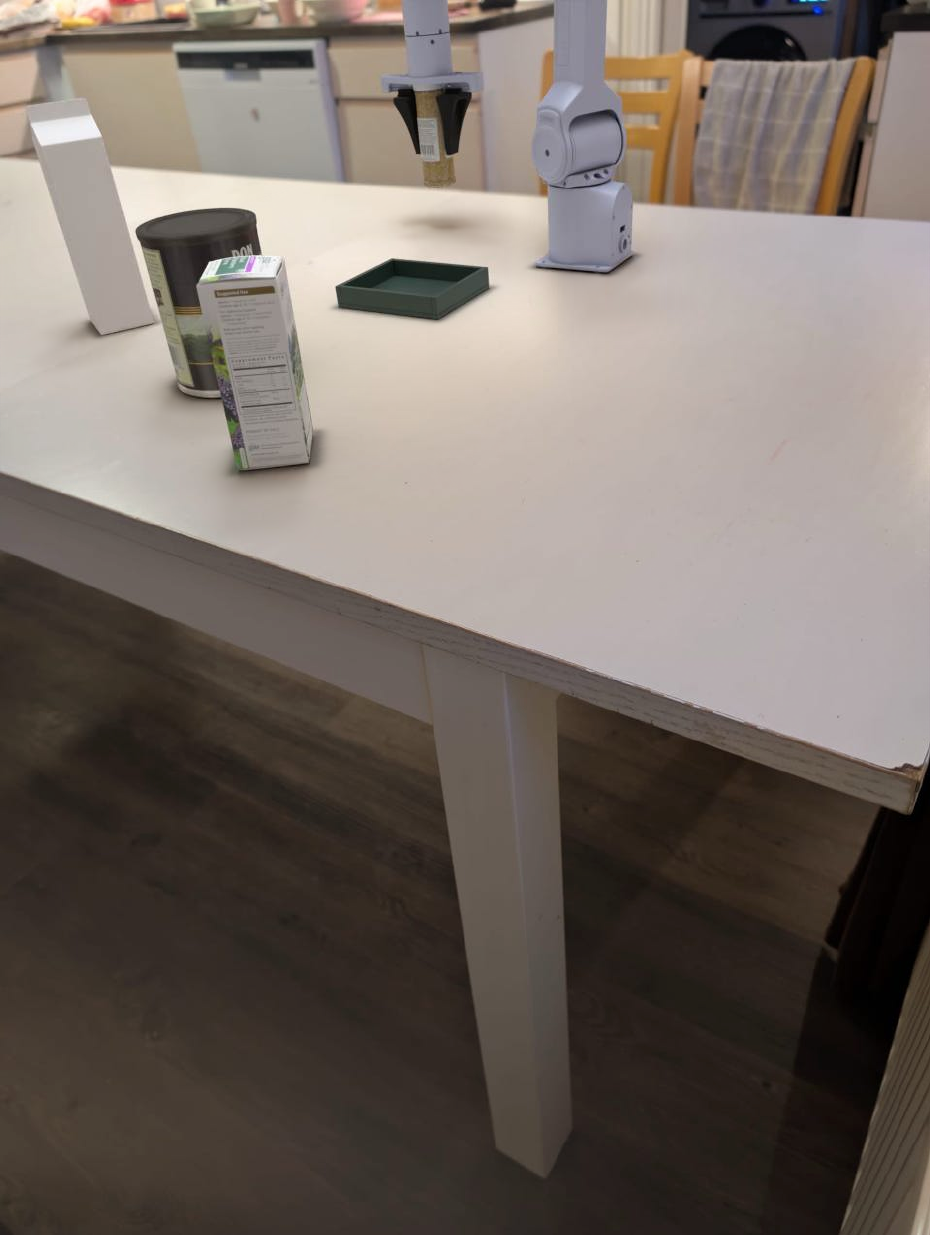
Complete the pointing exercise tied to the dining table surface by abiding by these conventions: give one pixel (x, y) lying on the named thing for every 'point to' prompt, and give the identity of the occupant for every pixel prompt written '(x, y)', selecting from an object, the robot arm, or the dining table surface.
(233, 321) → the syrup box
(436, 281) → the serving tray
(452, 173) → the sprinkles bottle
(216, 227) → the coffee can
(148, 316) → the milk
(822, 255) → the dining table surface
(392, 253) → the dining table surface
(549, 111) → the robot arm
